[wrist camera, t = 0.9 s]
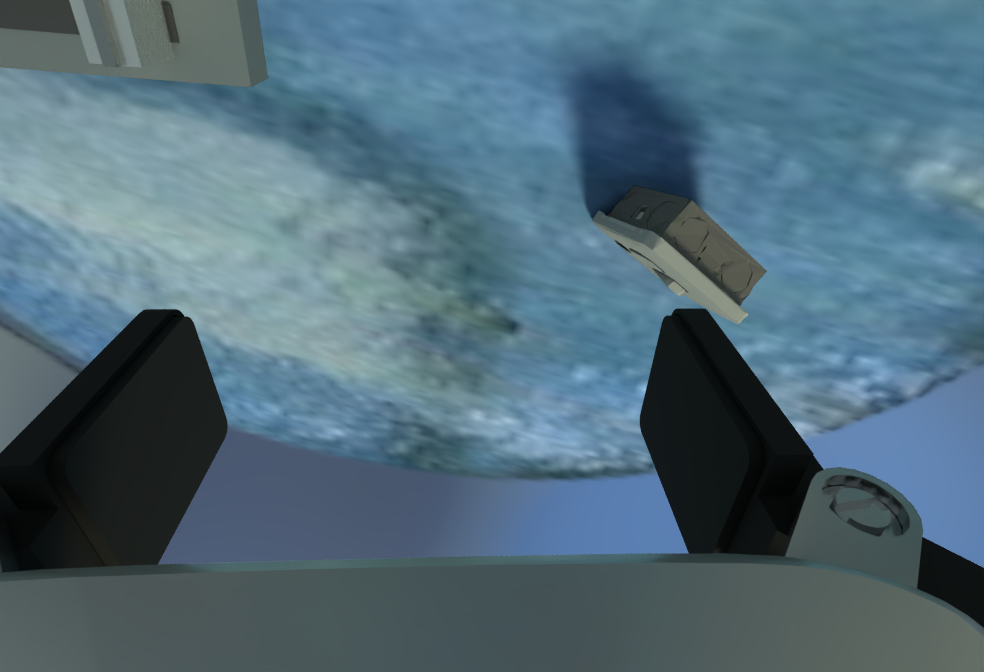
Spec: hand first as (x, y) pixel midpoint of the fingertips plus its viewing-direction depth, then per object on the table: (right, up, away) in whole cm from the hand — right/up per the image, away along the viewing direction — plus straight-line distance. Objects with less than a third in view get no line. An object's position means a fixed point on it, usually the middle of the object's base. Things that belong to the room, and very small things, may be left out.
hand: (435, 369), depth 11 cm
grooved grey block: (-18, +17, +17) cm, 30 cm away
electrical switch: (+13, +9, +29) cm, 33 cm away
